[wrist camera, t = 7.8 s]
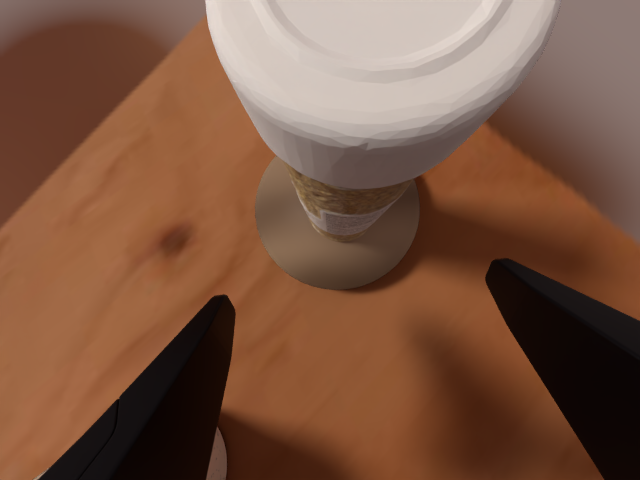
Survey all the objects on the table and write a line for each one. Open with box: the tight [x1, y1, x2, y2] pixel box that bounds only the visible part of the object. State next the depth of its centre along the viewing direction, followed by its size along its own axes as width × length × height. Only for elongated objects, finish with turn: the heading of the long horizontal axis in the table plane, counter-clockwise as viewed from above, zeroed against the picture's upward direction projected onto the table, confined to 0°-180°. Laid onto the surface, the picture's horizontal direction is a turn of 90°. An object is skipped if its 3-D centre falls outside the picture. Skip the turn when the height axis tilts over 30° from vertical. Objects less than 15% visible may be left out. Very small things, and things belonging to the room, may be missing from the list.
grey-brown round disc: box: [255, 155, 420, 290], centre depth 17 cm, size 11×11×2 cm
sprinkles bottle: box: [206, 0, 561, 242], centre depth 9 cm, size 5×5×13 cm
